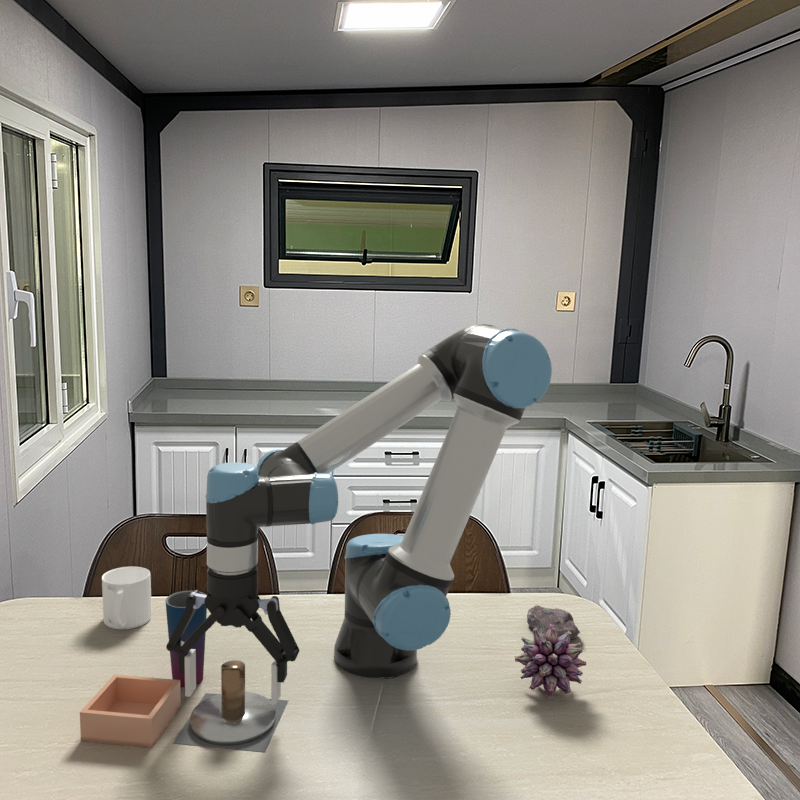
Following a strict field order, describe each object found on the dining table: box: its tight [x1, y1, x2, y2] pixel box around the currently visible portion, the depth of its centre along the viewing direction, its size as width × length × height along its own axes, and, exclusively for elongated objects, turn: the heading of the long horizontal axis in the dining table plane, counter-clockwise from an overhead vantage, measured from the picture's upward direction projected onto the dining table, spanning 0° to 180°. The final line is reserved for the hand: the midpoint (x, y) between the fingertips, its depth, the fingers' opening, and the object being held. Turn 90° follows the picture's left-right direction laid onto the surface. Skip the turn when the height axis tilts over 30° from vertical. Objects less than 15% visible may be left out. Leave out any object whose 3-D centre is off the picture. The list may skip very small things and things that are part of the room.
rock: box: [526, 604, 581, 640], centre depth 158 cm, size 8×11×5 cm
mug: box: [101, 566, 153, 630], centre depth 156 cm, size 12×9×9 cm
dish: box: [79, 674, 182, 749], centre depth 122 cm, size 11×11×5 cm
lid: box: [189, 659, 276, 746], centre depth 123 cm, size 13×13×9 cm
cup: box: [164, 590, 208, 688], centre depth 134 cm, size 7×7×15 cm
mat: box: [172, 692, 289, 753], centre depth 124 cm, size 14×14×1 cm
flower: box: [514, 624, 587, 700], centre depth 134 cm, size 12×12×12 cm
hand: (233, 696), depth 123 cm, fingers open, 13 cm apart
